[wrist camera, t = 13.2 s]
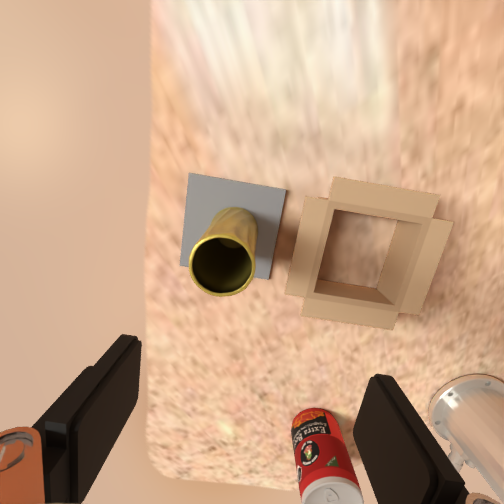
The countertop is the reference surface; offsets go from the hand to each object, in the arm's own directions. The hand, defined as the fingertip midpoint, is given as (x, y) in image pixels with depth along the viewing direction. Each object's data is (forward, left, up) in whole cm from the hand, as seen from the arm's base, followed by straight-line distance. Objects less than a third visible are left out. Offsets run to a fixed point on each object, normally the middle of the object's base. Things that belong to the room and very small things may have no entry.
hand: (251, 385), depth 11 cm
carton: (+1, -13, -26) cm, 29 cm away
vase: (+1, +3, -25) cm, 25 cm away
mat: (+1, +3, -26) cm, 26 cm away
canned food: (-29, -15, -26) cm, 42 cm away
